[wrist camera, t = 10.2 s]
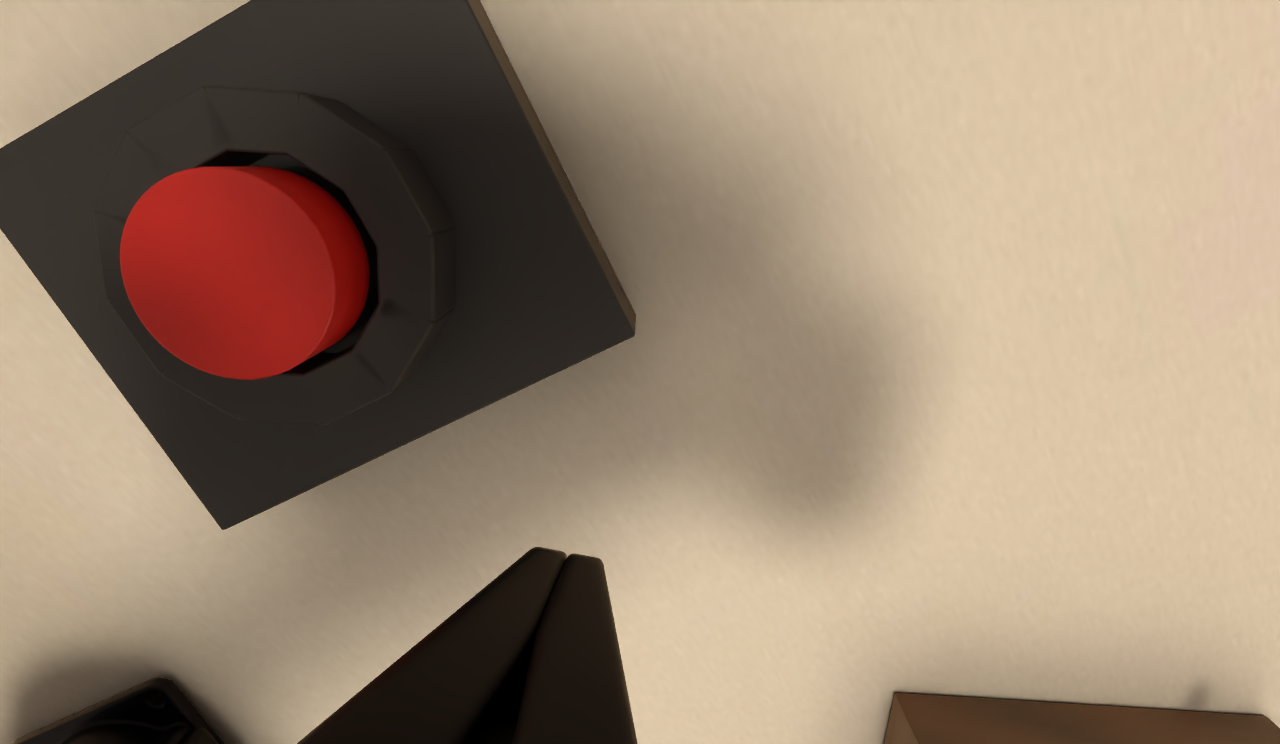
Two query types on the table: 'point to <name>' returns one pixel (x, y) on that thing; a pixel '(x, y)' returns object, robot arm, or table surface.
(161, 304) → the button
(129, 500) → the table surface
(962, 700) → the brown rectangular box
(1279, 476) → the table surface
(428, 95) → the button box
